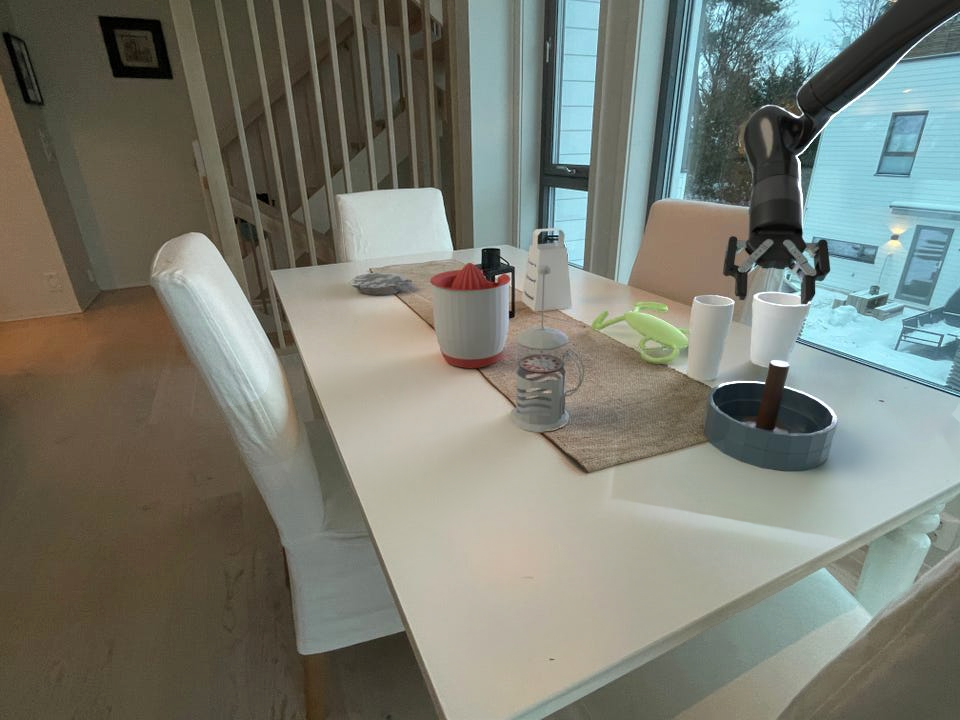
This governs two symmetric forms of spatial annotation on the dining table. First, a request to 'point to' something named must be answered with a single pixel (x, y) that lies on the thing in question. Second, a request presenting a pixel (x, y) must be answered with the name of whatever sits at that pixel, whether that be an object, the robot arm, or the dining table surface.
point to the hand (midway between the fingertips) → (774, 299)
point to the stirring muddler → (771, 399)
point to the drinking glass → (708, 335)
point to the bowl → (761, 447)
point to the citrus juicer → (470, 316)
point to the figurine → (650, 330)
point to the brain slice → (380, 283)
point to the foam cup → (775, 326)
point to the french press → (547, 406)
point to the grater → (547, 275)
